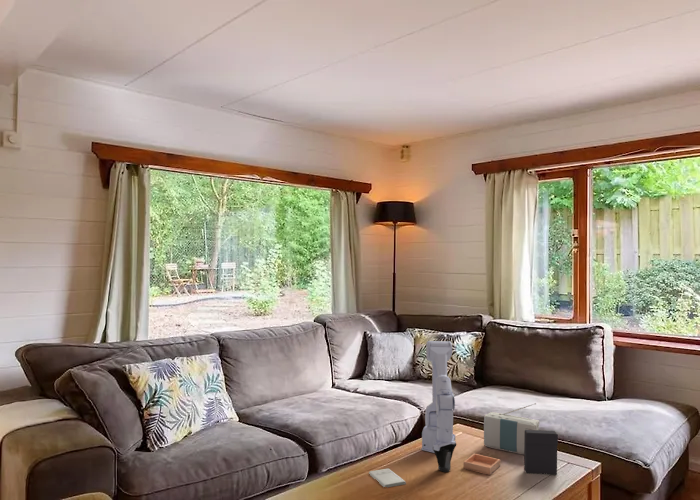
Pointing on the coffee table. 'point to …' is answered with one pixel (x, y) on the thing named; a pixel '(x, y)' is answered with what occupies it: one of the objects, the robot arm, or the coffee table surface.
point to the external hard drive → (387, 478)
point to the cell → (447, 463)
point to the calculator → (540, 452)
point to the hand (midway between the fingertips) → (444, 464)
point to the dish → (482, 464)
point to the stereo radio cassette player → (507, 431)
